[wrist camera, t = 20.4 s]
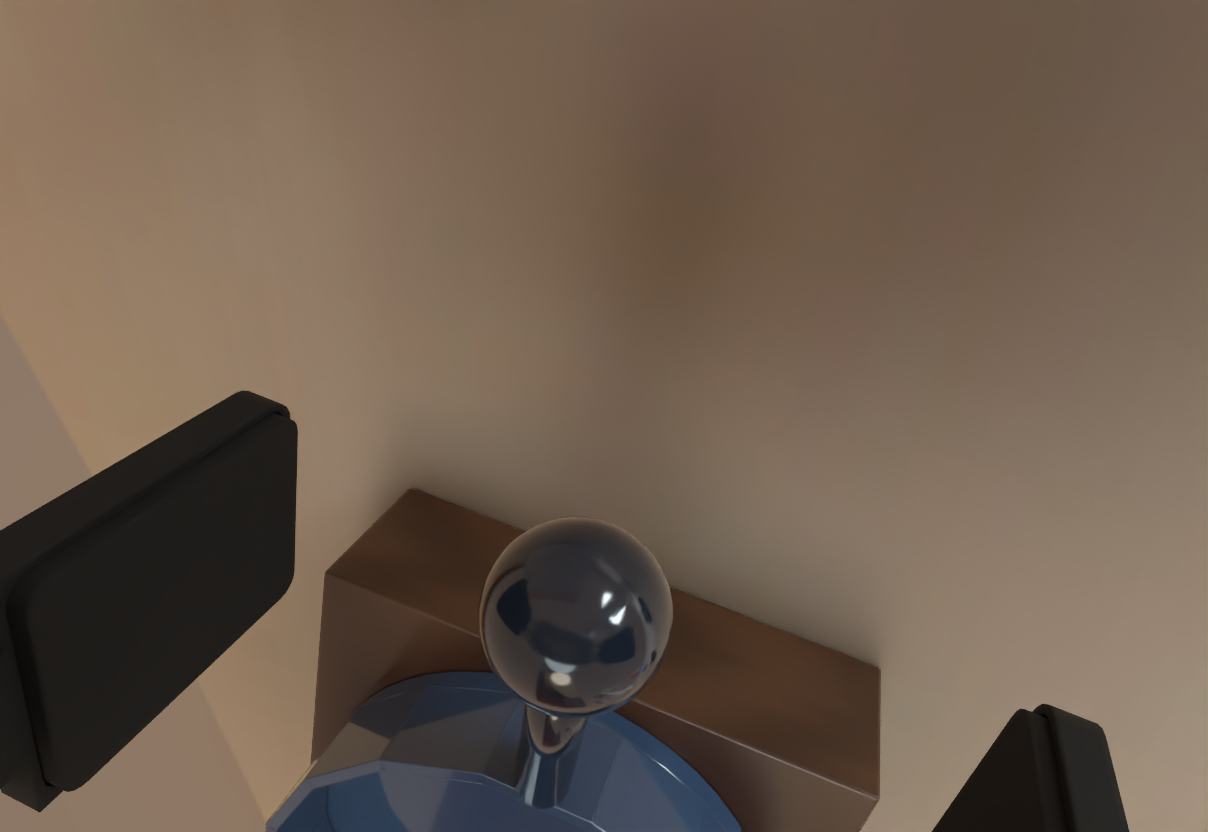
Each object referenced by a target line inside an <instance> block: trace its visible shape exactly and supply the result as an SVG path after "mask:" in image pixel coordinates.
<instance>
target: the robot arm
mask: <svg viewBox="0 0 1208 832" xmlns="http://www.w3.org/2000/svg"><path fill="white" fill-rule="evenodd" d="M297 439H298V430H297V425H296V423H295V422H294V421H293V420H291V419H290V413H289V411H288V409H287V407H286V406H284V405H283V404H280V403H278V402H275V401H272V400H270V399H267V398H265V397H262V396H260V395H257V394H255V393H252V392H250V391H240V392H237V393H235V394H233V395H231V396H230V397H228V398H226V399H225V400H223V401H221V402H219V403H218V404H216V405H214V406H213V407H211V408H209V409H207V410H206V411H204V412H202V413H201V414H199V415H197V416H196V417H194V418H192V419H190V420H189V421H187V422H185V423H184V424H182V425H180V426H178V427H177V428H175V429H173V430H172V431H170V432H168V433H166V434H165V435H163V436H161V437H160V438H158V439H156V440H154V441H153V442H151V443H149V444H148V445H146V446H144V447H142V448H141V449H139V450H137V451H136V452H134V453H132V454H131V455H129V456H127V457H125V458H124V459H122V460H120V461H119V462H117V463H115V464H113V465H112V466H110V467H108V468H107V469H105V470H103V471H101V472H100V473H98V474H96V475H95V476H93V477H91V478H89V479H88V480H86V481H84V482H83V483H81V484H79V485H78V486H76V487H74V488H72V489H71V490H69V491H67V492H66V493H64V494H62V495H60V496H59V497H57V498H55V499H54V500H52V501H50V502H49V503H47V504H45V505H43V506H42V507H40V508H38V509H36V510H35V511H33V512H31V513H30V514H28V515H26V516H24V517H23V518H21V519H20V520H18V521H16V522H14V523H12V524H11V525H9V526H7V527H6V528H4V529H2V530H1V531H0V789H1V791H2V793H4V794H6V795H8V796H10V797H12V798H13V799H15V800H18V801H19V802H21V803H23V804H25V805H27V806H29V807H31V808H32V809H34V810H36V811H38V812H41V811H42V810H43V809H44V808H45V807H46V806H47V805H48V804H49V803H50V802H51V801H53V800H54V799H55V798H56V797H57V796H58V795H59V794H60V793H61V792H62V791H63V790H64V791H67V792H69V791H74V790H76V789H77V788H79V787H81V786H82V785H84V784H85V783H86V782H87V781H89V780H90V779H91V778H92V777H93V776H94V775H95V774H96V773H97V772H98V771H99V770H100V769H101V768H102V767H103V766H104V765H105V764H107V763H108V762H109V761H110V759H112V758H113V757H114V756H115V755H116V754H117V753H118V752H119V751H120V750H121V749H122V748H123V747H124V746H126V745H127V744H128V743H129V742H130V741H131V740H132V739H133V738H134V737H135V736H136V735H137V734H138V733H139V732H140V731H141V730H142V729H143V728H145V727H146V726H147V725H148V724H149V723H150V722H151V721H152V720H153V719H154V718H155V717H156V716H157V715H158V714H159V713H160V712H161V711H163V709H165V707H167V706H168V705H169V704H170V703H171V702H172V701H173V700H174V699H175V698H176V697H177V696H178V695H179V694H180V693H182V692H183V690H185V689H186V688H187V687H188V686H189V685H190V684H191V683H192V682H193V681H194V680H195V679H196V678H197V677H198V676H199V675H201V674H202V673H203V672H204V671H205V670H206V669H207V668H208V667H209V666H210V665H211V664H212V663H213V662H214V661H215V660H216V659H217V658H218V657H220V656H221V655H222V654H223V653H224V652H225V651H226V650H227V649H228V648H229V647H230V646H231V645H232V644H233V643H234V642H235V641H236V640H237V639H239V638H240V637H241V636H242V635H243V634H244V633H245V632H246V631H247V630H248V629H249V628H250V627H251V626H252V625H253V624H254V623H255V622H257V621H258V620H259V619H260V618H261V617H262V616H263V615H264V614H265V613H266V612H267V611H268V610H269V609H270V608H271V607H272V606H273V605H274V604H276V603H277V602H278V601H279V600H280V599H281V598H282V596H283V595H284V594H285V593H286V591H287V590H288V588H289V586H290V584H291V582H292V579H293V576H294V564H295V522H296V481H297ZM932 832H1129V828H1128V824H1127V820H1126V816H1125V812H1124V808H1123V804H1122V800H1121V796H1120V792H1119V788H1118V784H1117V780H1116V776H1115V772H1114V768H1113V764H1112V760H1111V756H1110V752H1109V748H1108V744H1107V740H1106V736H1105V734H1104V731H1103V729H1102V728H1101V727H1100V726H1099V725H1098V724H1097V723H1094V722H1091V721H1089V720H1086V719H1084V718H1081V717H1079V716H1076V715H1074V714H1071V713H1068V712H1066V711H1063V710H1061V709H1058V708H1056V707H1053V706H1051V705H1048V704H1041V705H1040V706H1038V707H1037V708H1036V709H1035V710H1034V711H1033V712H1030V711H1027V710H1025V709H1019V710H1018V711H1016V712H1015V714H1014V715H1013V716H1012V717H1011V719H1010V720H1009V722H1008V723H1007V724H1006V726H1005V727H1004V729H1003V730H1002V732H1001V733H1000V735H999V736H998V737H997V739H996V740H995V742H994V743H993V745H992V746H991V747H990V749H989V750H988V752H987V753H986V755H985V756H984V757H983V759H982V760H981V762H980V763H979V765H978V766H977V768H976V769H975V770H974V772H973V773H972V775H971V776H970V778H969V779H968V780H967V782H966V783H965V785H964V786H963V788H962V789H961V790H960V792H959V793H958V795H957V796H956V798H955V799H954V801H953V802H952V803H951V805H950V806H949V808H948V809H947V811H946V812H945V813H944V815H943V816H942V818H941V819H940V821H939V822H938V824H937V825H936V826H935V828H934V829H933V831H932Z"/></svg>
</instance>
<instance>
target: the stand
mask: <svg viewBox="0 0 1208 832" xmlns="http://www.w3.org/2000/svg"><path fill="white" fill-rule="evenodd" d="M523 533H524V531H521V530H518V529H516V528H513V527H511V526H508V525H505V524H503V523H500V522H498V521H495V520H492V519H490V518H487V517H484V516H482V515H479V514H477V513H474V512H471V511H469V510H466V509H464V508H461V507H458V506H456V505H453V504H451V503H448V502H445V501H443V500H440V499H438V498H435V497H432V496H430V495H427V494H424V493H422V492H419V491H417V490H414V489H408V490H407V491H406V492H405V493H404V494H403V495H402V496H401V497H400V498H399V499H398V500H397V501H396V502H395V503H394V504H393V505H392V506H391V507H390V508H389V509H388V510H387V511H386V512H385V513H384V514H383V515H382V516H381V517H380V518H379V519H378V520H377V521H376V522H375V523H374V524H373V525H372V526H371V527H370V528H369V529H368V530H367V531H366V532H365V533H364V534H363V535H362V536H361V537H360V538H359V539H358V540H357V541H356V542H355V543H354V544H353V545H352V546H351V547H350V548H349V549H348V550H347V551H346V552H345V553H344V554H343V555H342V556H341V557H340V558H339V559H338V560H337V561H336V562H335V563H334V564H333V565H332V566H331V567H330V568H329V569H328V570H327V571H326V572H325V577H324V591H323V604H322V618H321V632H320V645H319V659H318V672H317V686H316V700H315V713H314V727H313V740H312V754H311V764H312V763H313V762H314V760H315V759H316V758H317V756H318V755H319V754H320V753H321V751H322V750H323V749H324V748H325V747H326V746H327V745H328V743H329V742H330V741H331V740H332V739H333V737H334V736H335V735H336V734H337V733H338V732H339V730H340V729H341V728H342V726H343V725H344V724H345V723H346V721H347V720H348V719H349V717H350V716H351V715H352V713H354V712H355V711H356V710H357V709H358V708H359V707H360V706H361V705H362V704H363V703H364V702H365V701H366V700H367V699H369V698H370V697H372V696H374V695H375V694H377V693H378V692H380V691H381V690H383V689H385V688H387V687H389V686H392V685H394V684H397V683H399V682H401V681H404V680H406V679H410V678H414V677H418V676H423V675H427V674H432V673H442V672H453V671H472V672H490V673H493V672H492V670H491V668H490V667H489V665H488V663H487V660H486V658H485V656H484V653H483V650H482V647H481V643H480V638H479V633H478V606H479V599H480V594H481V591H482V587H483V584H484V581H485V579H486V577H487V574H488V572H489V570H490V569H491V567H492V565H493V563H494V562H495V560H496V559H497V558H498V556H499V555H500V554H501V552H502V551H503V550H504V549H505V548H506V547H507V546H508V545H509V544H510V543H511V542H512V541H513V540H515V539H516V538H517V537H518V536H520V535H521V534H523ZM669 588H670V587H669ZM670 592H671V597H672V602H673V613H674V619H673V633H672V637H671V641H670V645H669V649H668V652H667V654H666V657H665V659H664V661H663V663H662V665H661V668H660V669H659V671H658V672H657V674H656V675H655V676H654V678H653V679H652V681H651V682H650V684H649V685H648V686H647V687H646V688H645V689H644V690H643V691H642V692H641V693H640V694H638V695H637V696H636V697H635V698H634V699H632V700H631V701H629V702H628V703H626V704H625V705H623V706H621V707H620V708H618V709H616V710H614V712H616V713H618V714H619V715H621V716H623V717H624V718H626V719H628V720H630V721H631V722H633V723H635V724H636V725H638V726H640V727H642V728H643V729H645V730H646V731H647V732H649V733H650V734H652V735H653V736H654V737H656V738H657V739H658V740H660V741H661V742H663V743H664V744H665V745H667V746H668V747H670V748H671V749H672V750H673V751H674V752H676V753H677V754H678V755H679V756H680V757H681V758H682V759H684V760H685V761H686V762H687V763H688V764H689V765H690V766H691V767H693V768H694V769H695V770H696V771H697V772H698V773H699V774H700V775H701V776H702V777H703V779H704V780H705V781H706V782H707V783H708V784H709V785H710V786H711V787H712V788H713V789H714V790H715V792H716V793H717V794H718V795H719V796H720V798H721V799H722V800H723V802H724V803H725V804H726V806H727V807H728V808H729V810H730V811H731V813H732V814H733V815H734V817H735V818H736V819H737V821H738V823H739V825H740V827H741V828H742V830H743V832H860V830H861V829H862V827H863V826H864V824H865V822H866V821H867V819H868V817H869V816H870V814H871V812H872V811H873V809H874V807H875V806H876V804H877V802H878V801H879V799H880V697H881V670H880V669H879V668H878V667H876V666H873V665H870V664H868V663H865V662H863V661H860V660H857V659H855V658H852V657H850V656H847V655H844V654H842V653H839V652H837V651H834V650H831V649H829V648H826V647H824V646H821V645H818V644H816V643H813V642H810V641H808V640H805V639H803V638H800V637H797V636H795V635H792V634H790V633H787V632H784V631H782V630H779V629H777V628H774V627H771V626H769V625H766V624H764V623H761V622H758V621H756V620H753V619H751V618H748V617H745V616H743V615H740V614H737V613H735V612H732V611H730V610H727V609H724V608H722V607H719V606H717V605H714V604H711V603H709V602H706V601H704V600H701V599H698V598H696V597H693V596H691V595H688V594H685V593H683V592H680V591H677V590H675V589H672V588H670Z"/></svg>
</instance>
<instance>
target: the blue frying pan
mask: <svg viewBox="0 0 1208 832" xmlns="http://www.w3.org/2000/svg"><path fill="white" fill-rule="evenodd" d="M673 619H674V613H673V602H672V597H671V592H670V588H669V585H668V582H667V580H666V577H665V575H664V573H663V571H662V569H661V567H660V565H659V563H658V562H657V560H656V559H655V557H654V556H653V555H652V553H651V552H650V551H649V550H648V549H647V548H646V547H645V546H644V545H643V544H642V543H641V542H640V541H639V540H638V539H637V538H636V537H634V536H633V535H631V534H630V533H629V532H627V531H625V530H623V529H622V528H620V527H618V526H616V525H613V524H611V523H608V522H605V521H602V520H597V519H592V518H585V517H566V518H561V519H555V520H551V521H548V522H544V523H542V524H539V525H537V526H535V527H533V528H531V529H529V530H527V531H526V532H524V533H523V534H521V535H520V536H518V537H517V538H516V539H515V540H513V541H512V542H511V543H510V544H509V545H508V546H507V547H506V548H505V549H504V550H503V551H502V552H501V554H500V555H499V556H498V558H497V559H496V560H495V562H494V563H493V565H492V567H491V569H490V570H489V572H488V574H487V577H486V579H485V581H484V584H483V587H482V591H481V594H480V599H479V606H478V633H479V638H480V643H481V647H482V650H483V653H484V656H485V658H486V660H487V663H488V665H489V667H490V668H491V670H492V672H493V673H490V672H472V671H453V672H442V673H432V674H427V675H423V676H418V677H414V678H410V679H406V680H404V681H401V682H399V683H397V684H394V685H392V686H389V687H387V688H385V689H383V690H381V691H380V692H378V693H377V694H375V695H374V696H372V697H370V698H369V699H367V700H366V701H365V702H364V703H363V704H362V705H361V706H360V707H359V708H358V709H357V710H356V711H355V712H354V713H352V715H351V716H350V717H349V719H348V720H347V721H346V723H345V724H344V725H343V726H342V728H341V729H340V730H339V732H338V733H337V734H336V735H335V736H334V737H333V739H332V740H331V741H330V742H329V743H328V745H327V746H326V747H325V748H324V749H323V750H322V751H321V753H320V754H319V755H318V756H317V758H316V759H315V760H314V762H313V763H312V764H311V766H310V767H309V768H308V769H307V771H306V772H305V773H304V775H303V776H302V777H301V778H300V780H299V781H298V782H297V784H296V785H295V786H294V788H293V789H292V790H291V791H290V793H289V794H288V795H287V797H286V798H285V799H284V800H283V802H282V803H281V804H280V806H279V807H278V808H277V810H276V811H275V812H274V813H273V815H272V816H271V817H270V819H269V820H268V821H267V822H266V832H743V830H742V828H741V827H740V825H739V823H738V821H737V819H736V818H735V817H734V815H733V814H732V813H731V811H730V810H729V808H728V807H727V806H726V804H725V803H724V802H723V800H722V799H721V798H720V796H719V795H718V794H717V793H716V792H715V790H714V789H713V788H712V787H711V786H710V785H709V784H708V783H707V782H706V781H705V780H704V779H703V777H702V776H701V775H700V774H699V773H698V772H697V771H696V770H695V769H694V768H693V767H691V766H690V765H689V764H688V763H687V762H686V761H685V760H684V759H682V758H681V757H680V756H679V755H678V754H677V753H676V752H674V751H673V750H672V749H671V748H670V747H668V746H667V745H665V744H664V743H663V742H661V741H660V740H658V739H657V738H656V737H654V736H653V735H652V734H650V733H649V732H647V731H646V730H645V729H643V728H642V727H640V726H638V725H636V724H635V723H633V722H631V721H630V720H628V719H626V718H624V717H623V716H621V715H619V714H618V713H616V712H614V710H616V709H618V708H620V707H621V706H623V705H625V704H626V703H628V702H629V701H631V700H632V699H634V698H635V697H636V696H637V695H638V694H640V693H641V692H642V691H643V690H644V689H645V688H646V687H647V686H648V685H649V684H650V682H651V681H652V679H653V678H654V676H655V675H656V674H657V672H658V671H659V669H660V668H661V665H662V663H663V661H664V659H665V657H666V654H667V652H668V649H669V645H670V641H671V637H672V633H673Z"/></svg>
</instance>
